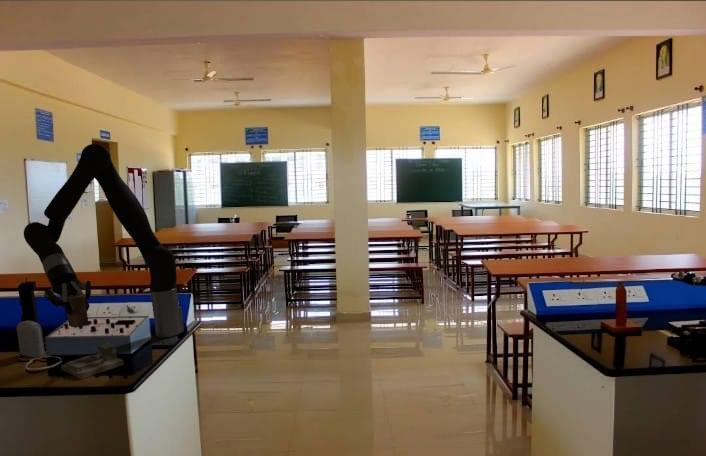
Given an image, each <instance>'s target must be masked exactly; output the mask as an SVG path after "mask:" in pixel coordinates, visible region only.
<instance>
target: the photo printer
mask: <svg viewBox="0 0 706 456" xmlns="http://www.w3.org/2000/svg"><path fill="white" fill-rule="evenodd" d="M41 328H42V327H41V325H40V323H39V324H37V323H36V322H33V321H24V322H22V321H20V322H19V323H18V324H17V325H16V334H17V335H16V336H17V340H18V341H17V342H18V349H19V353H20V355H21V356H25V357H30V358H40V357H42V356H44V355H45V352H46V351H45V345H44V337H43V336H44V335H43V336H42V329H43V328H42V329H41Z"/></svg>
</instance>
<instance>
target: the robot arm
mask: <svg viewBox="0 0 706 456" xmlns="http://www.w3.org/2000/svg"><path fill="white" fill-rule="evenodd" d="M94 179H95V180H96V182H97V183H98V184H99V186H100V188H101V190H102V191H103V193H104V196H105V198H106V200H107V203H108V205H109V206H110V209H111V210H112V212H113V213H114V215H115V216H116V218H117V220H118V221H119V222H120V223H121V226H122V227H123V229H124V230H125V231H126V232H127V234H128V235H129V236H130V238H131V239H132V240H133V242H134V243H135V245H136V246H137V249H138V251H139V252H140V254H141V257H142V258H143V261H144V263H145V265H146V266H147V267H148V268H149V275H150V283H149V290H150V298H151V305H152V313H153V321H154V322H153V323H154V330H155V337H157V338H163V339H164V338H170V337H174V336H177V335H180V334H181V333H184V332H185V327H184V321H183V320H184V318H183V312H182V311H183V310H182V306H180V305H179V296H178V290H177V289H178V288H177V279H178V278H177V275H178V274H177V269H176V268H177V265H176V259H175V255H174V253H173V252H172V250H171V249H169V248H167V247H164V245H163V244H162V243H161V242H160V241H159V239H158V237H157V236H156V235H155V233H154V231H153V229H152V226H151V223H150V220H149V218H148V216H147V213H146V211H145V208H143V206H142V204H141V202H140V200H139V199H138V198H137V196H136V195H135V193H134V192H133V191H132V190H131V188H130V186H128V185H127V183H125V181H124V180H123V179H122V177H121V176H120V174H119V173H118V171H117V168H116V166H115V165H114V162H113V160H112V159H111V153H110V151H109V150H108V148H107V147H106V146H105V145H103V144H100V143H90V144H88V145H86V146H84V147H83V149H82V151H81V153H80V157H79V159H78V162H77V164H76V166H75V168H74V170H73V172H72V173H71V174H70V175H69V177H68V179H67V180H66V181H65V183H64V184H63V185H62V186H61V188H59V190H58V191H57V192H56V194H55V195H54V196H53V198H52V199H51V201H50V202H49V203H48V204H47V206H46V207H45V209H44V211H43V214H44V217H46V218H47V219H48V224H47V225H46V224H43V223H42V222H38V221H34V222H33V221H32V222H29V223H27V225H26V226H25V227H24V229H23V238H24V240H25V242H26V244H27V245H28V246H29V247H30V248H31V250H32V251H33V252H34V253H35V254H36V255H37V256H38V259H39V261H40V263H41V265H42V267H43V268H42V269H43V271H44V274H45V276H46V277H47V280H48V282H49V284H50V286H51V288H50V289H49V288H46V289H45V290H44V293H43V294H44V295H43V297H44V298H45V299H47V300H48V301H49V302H50V303H51V304H52V305H53V306H54V307H55V308H56V307H57V308H58V307H63V309H64V312H65V314H66V315H67V314H69V315H72V313H73V310H72V308H71V306H70V304H69V302H67V297H70V296H75V295H82V296H85V303H86V310H87V312H88V310H89V309H90V303H89V300H90V299H91V298H90V297H91V294H92V285H91V284H92V283H91V281H90V280H86V282H83V281H81V280H80V279H78V276H77V274H76V272H75V271H74V268H73V266H72V265H71V263H70V261H69V259H68V258H67V256H66V254H65V253H64V251H63V249H62V247H61V246H60V245H59V243H58V241H59V240H60V238H61V235H62V232H63V229H64V227H65V224H66V221H67V219H68V218H69V216H71V213H72V212H73V211H74V209H75V208H76V207H77V205H78V203H79V201H80V199H81V198H82V196H83V195H84V193H85V192H86V190H87V189H88V187H89V186H90V184H91V183H92V182H93V181H94ZM81 287H82V288H83V290H84V291H85V292H83V290H82V289H81ZM84 293H85V294H84ZM56 294H57V295H58V296H60V298H59V297H58V296H57V295H56Z"/></svg>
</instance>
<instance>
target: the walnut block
mask: <svg viewBox="0 0 706 456" xmlns="http://www.w3.org/2000/svg"><path fill="white" fill-rule="evenodd" d="M67 302H69V304H70V306H71V308H72V310H73V313H72V315H69V314H67V313H66V315H67V321H68V326H69V327H72V328H74V329H77V328H79V327H80V328H81V327H83V326H87V325H89V318H88V316H89V315H88V311H87V310H86V303H85V296H82V295H75V296H69V297H67Z"/></svg>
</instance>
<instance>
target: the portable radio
mask: <svg viewBox="0 0 706 456" xmlns="http://www.w3.org/2000/svg"><path fill="white" fill-rule="evenodd" d="M36 288H37V284H36V281H35V280H33V281H32V280H31V281H30V280H29V281H28V277H25V281H24V282H20V283H19V284H18V285H17V291H18V298H19V303H20V306H21V313H22V314H21V318H20V319H21V320H20V321H21V322H24V321H33V322H36V323H37V324H39V325H40V322H39V315H38V309H37V302H36V295H35V289H36ZM41 329H42V336H44V329H43V327H41Z"/></svg>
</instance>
